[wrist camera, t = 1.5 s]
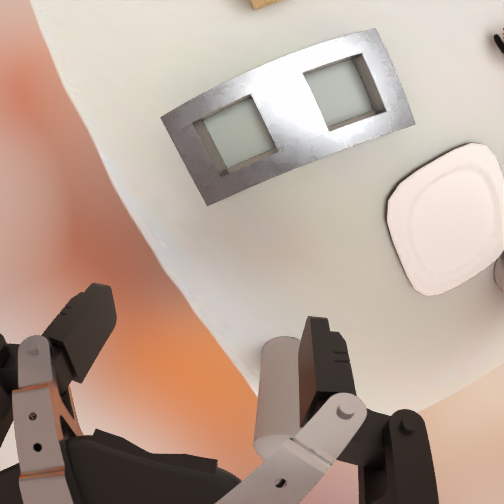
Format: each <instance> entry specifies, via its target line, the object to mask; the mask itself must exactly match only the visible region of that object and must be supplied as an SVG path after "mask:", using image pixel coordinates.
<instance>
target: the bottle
mask: <svg viewBox="0 0 504 504" xmlns="http://www.w3.org/2000/svg"><path fill="white" fill-rule="evenodd" d="M300 342H301V341H300V340H298V339H296V338H292V337H278V338H274V339H272V340H270V341H269V342H267V343H266V344H265V346H264V347H263V352H262V362H261V372H260V383H259V393H258V404H257V414H256V424H255V433H254V444H253V446H254V448H255V450H256V452H257V454H258V455H259V456H260V457H261V459H262V460H263V461H265V460H267V459H268V458H269V457H270V456H271V455H272V454H273V453H274V452H275V451H276V450H277V449H278V448H279V447H280V446H281V445H282V444H283V443H284V442H285V441H287V440H288V439H289V438H293V437H294V436H296V435H297V433H298V432H299V431H300V430H301V429H302V428H300V414H299V375H298V351H299V345H300Z"/></svg>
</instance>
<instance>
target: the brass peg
mask: <svg viewBox="0 0 504 504" xmlns="http://www.w3.org/2000/svg"><path fill="white" fill-rule="evenodd" d="M249 1H250V2H251V4H252V5H253V7H254V9H255V10H257V9H260V8H262V7H265V6H268V5H270V4H273V3H276V2H279V1H281V0H249Z"/></svg>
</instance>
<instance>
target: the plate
mask: <svg viewBox="0 0 504 504" xmlns="http://www.w3.org/2000/svg"><path fill="white" fill-rule="evenodd" d="M386 220H387V224H388V227H389V231H390V234H391V238H392V241H393V243H394V246H395V248H396V251H397V253H398V256H399V258H400V261H401V263H402V265H403V268H404V270H405V272H406V275H407V277H408V279H409V280H410V282H411V284H412V285H413V287H414V289H415V290H417V291H418V292H420V293H421V294H423V295H424V296H431V295H440V294H442V293H444V292H446V291H449V290H451V289H453V288H455V287H457V286H459V285H460V284H462V283H464V282H465V281H467V280H469V279H470V278H472V277H473V276H475V275H476V274H478V273H479V272H481V271H482V270H484V269H485V268H487V267H488V266H489V265H490V264H491V263H493V262H494V261H495V260H496V259H497V258H499V256H500V255H501V253H502V252H503V251H504V179H503V175H502V172H501V169H500V166H499V164H498V161H497V159H496V156H495V155H494V154H493V153H492V152H491V151H490V149H489V148H488V147H487V146H486V145H482V144H475V143H469V144H466V145H464V146H461V147H458V148H456V149H453V150H452V151H450V152H448V153H446V154H444V155H442V156H441V157H439V158H437V159H435V160H433V161H432V162H430V163H428V164H426V165H425V166H423V167H421V168H420V169H418V170H416V171H415V172H414V173H412V174H411V175H410V176H408V177H407V178H406V179H404V180H403V181H402V182H400V183H399V184H398V186H397V187H396V189H395V190H394V192H393V193H392V195H391V196H390V198H389V199H388V205H387V219H386Z"/></svg>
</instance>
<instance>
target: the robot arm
mask: <svg viewBox="0 0 504 504" xmlns="http://www.w3.org/2000/svg"><path fill="white" fill-rule="evenodd" d="M494 276H495V281H496V283H497V285H498V286H499V287H500V288H501V289H502V291H503V292H504V251H503V252H502V253H501V255H500V256H499V258H498V259H497V262H496V266H495V271H494ZM116 318H117V317H116V310H115V305H114V300H113V295H112V290H111V287H110V286H108V285H103V284H98V283H92V284H91V285H90V286H89V287H88V288H87V289H86V291H85V292H81V293H79V294H78V295H76V296H74V297H73V298H71V300H70V301H69V302H68V303H67V304H66V306H65V307H64V308H63V309H62V311H61V312H60V314H58V315H57V317H56V318H55V319H54V320H53V321H52V323H51V324H50V325H49V326H48V328H47V329H46V330H45V331H44V333H43V334H42V335H41V336H40V335H34V336H30V337H28V338H26V339H25V340H24V341H23V342H22V343H21V344H7V343H6V341H5V339H4V337H3V336H2V335H1V334H0V447H1V445H2V443H3V441H4V438H5V436H6V434H7V432H8V430H9V428H10V426H11V424H12V422H13V420H14V429H15V438H16V445H17V451H18V458H19V463H18V464H16V465H13V466H11V467H9V468H7V469H4V470H2V471H0V504H299V503H300V502H301V501H302V500H303V499H304V498H305V496H306V495H307V494H308V493H309V492H310V491H311V490H312V489H313V488H314V486H315V485H316V484H317V483H318V482H319V480H320V479H321V478H322V477H323V476H324V474H325V473H326V472H327V471H328V469H329V468H330V467H331V466H332V464H333V463H334V461H335V460H339V461H343V462H347V463H351V464H355V465H358V480H359V504H439V500H438V492H437V485H436V478H435V472H434V466H433V461H432V455H431V450H430V445H429V440H428V435H427V431H426V427H425V422H424V420H423V419H422V417H421V416H420V415H419V414H418V413H416V412H414V411H412V410H408V409H402V410H398V411H396V412H395V413H394V414H393V415H392V416H389V415H385V414H381V413H377V412H374V411H371V410H369V409H367V408H366V406H365V404H364V402H363V401H362V400H361V399H360V398H358V397H357V395H356V391H355V385H354V380H353V375H352V369H351V364H350V363H349V362H350V359H349V355H348V350H347V345H346V341H345V340H344V339H343V337H342V336H341V335H340V333H339V332H331V331H330V328H329V323H328V319H327V318H322V317H312V316H308V317H307V320H306V324H305V327H304V331H303V335H302V338H301V342H300V345H299V351H298V375H299V414H300V428H302V429H301V430H300V431H299V432H298V433H297V435H296V436H294V437H293V438H289V439H288V440H287V441H285V442H284V443H283V444H282V445H281V446H280V447H279V448H278V449H277V450H276V451H275V452H274V453H273V454H272V455H271V456H270V457H269V458H268V459H267V460H265V461H264V462H263V463H262V464H261V465H260V466H259V467H258V468H257V469H256V470H254V471H253V472H252V473H251V474H250V475H249V476H248V477H247V478H245V479H244V480H243V481H241V480H240V479H239V478H237V477H236V476H235V475H233V474H231V473H230V472H228V471H226V470H224V469H221V468H219V467H217V461H218V460H215V459H208V458H203V457H198V456H193V455H187V454H153V453H149V452H147V451H145V450H143V449H141V448H140V447H138V446H136V445H134V444H133V443H131V442H129V441H127V440H126V439H124V438H122V437H119V436H116V435H113V434H110V433H107V432H104V431H101V430H98V429H95V432H94V434H93V435H83V433H82V431H81V429H80V426H79V423H78V419H77V415H76V411H75V407H74V402H73V398H72V393H71V389H70V386H69V384H70V382H71V381H72V380H73V381H76V382H78V383H82V382H83V380H84V378H85V377H86V375H87V373H88V371H89V370H90V368H91V366H92V364H93V363H94V361H95V359H96V358H97V356H98V354H99V352H100V351H101V349H102V347H103V346H104V344H105V342H106V341H107V339H108V337H109V336H110V334H111V333H112V331H113V329H114V327H115V324H116Z"/></svg>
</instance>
